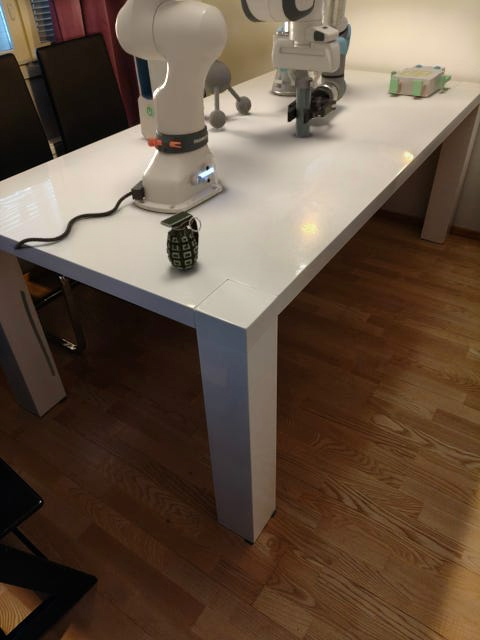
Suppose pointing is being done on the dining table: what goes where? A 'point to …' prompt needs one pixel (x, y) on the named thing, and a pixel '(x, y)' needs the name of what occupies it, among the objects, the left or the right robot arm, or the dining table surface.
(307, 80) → the lid
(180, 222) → the grenade
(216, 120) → the molecular model
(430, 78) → the decorative block
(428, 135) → the dining table surface
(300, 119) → the grey cylinder
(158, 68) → the electronic device
